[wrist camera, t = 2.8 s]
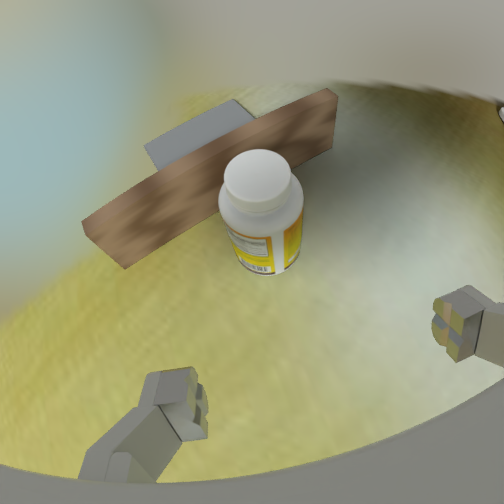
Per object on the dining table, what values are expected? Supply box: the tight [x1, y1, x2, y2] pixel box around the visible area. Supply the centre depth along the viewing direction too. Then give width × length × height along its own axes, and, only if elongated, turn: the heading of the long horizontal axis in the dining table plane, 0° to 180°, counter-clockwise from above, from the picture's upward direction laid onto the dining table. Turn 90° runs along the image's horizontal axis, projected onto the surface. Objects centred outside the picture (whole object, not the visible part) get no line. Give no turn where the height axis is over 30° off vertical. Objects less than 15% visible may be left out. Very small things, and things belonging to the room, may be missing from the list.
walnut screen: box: [82, 88, 338, 269], centre depth 27 cm, size 24×2×7 cm, turn 123°
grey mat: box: [144, 99, 255, 171], centre depth 33 cm, size 12×9×1 cm
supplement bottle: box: [218, 149, 304, 276], centre depth 23 cm, size 6×6×10 cm
